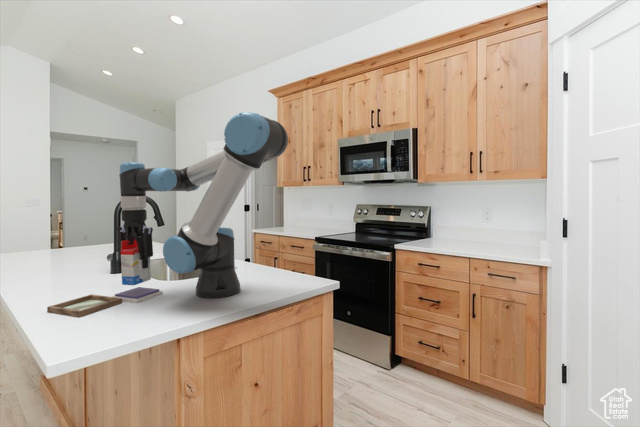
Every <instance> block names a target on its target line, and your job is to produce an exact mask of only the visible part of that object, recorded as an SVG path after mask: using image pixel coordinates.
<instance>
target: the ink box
mask: <svg viewBox="0 0 640 427" xmlns="http://www.w3.org/2000/svg"><path fill="white" fill-rule="evenodd" d="M127 243H129V241H128V240H124V241H121V256H120V260H121V261H120V263H121V264H120V265H121V266H120V267H121V268H120V269H121V285H122V286H137V285H140V284H142V283H145V282H149V281H150V280H151V279H152V274H151V273H152V272H151V257H149V258H148V268H147V273H148V277H146V278H142V279H139V258H141V257H140V253H139V249H138V245H137V241H136V240H135V239H134V244H131V245H127ZM144 255H145V254H144Z"/></svg>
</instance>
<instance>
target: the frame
mask: <svg viewBox="0 0 640 427" xmlns="http://www.w3.org/2000/svg"><path fill="white" fill-rule="evenodd" d="M120 304H121V305H122V304H123V301H122V298H116V297H112V296H107V295H100V294H92V293H91V294H89V295H84V296H81V297H78V298H73V299H70V300H68V301H63V302H60V303H57V304H54V305H49V306H47V307H46V309H47V310H46V311H47V313H53V314H56V315H57V314H58V315H62V316H63V315H64V316H72V317H75V316H76V318H81V317H84V316H88V315H91V314H94V313H97V312H99V311H102V310H106V309H108V308H111V307H114V306H117V305H120Z"/></svg>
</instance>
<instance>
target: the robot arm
mask: <svg viewBox="0 0 640 427" xmlns="http://www.w3.org/2000/svg"><path fill="white" fill-rule="evenodd" d="M223 136H224V143H225V145H224V147H223V150H222V151H220V152H218V153H215V154H214V155H211V156H208V157H207V158H204V159H202V160H200V161H198V162H196V163H193V164H191V165H188V166H187V167H185V168H181V169H178V168H177V169H175V168H168V167H151V168H145V164H144V163H143V162H122V163H121V164H120V165H119V185H120V208H121V209H122V210H121V221H122V222H124V223H123V226H118V227H117V228H116V230H117V234H118V255H119V256H120V257H121V241H124V240H128V241H129V243H127V245H131V244H134V239H135V240H136V241H137V245H138V249H139V253H140V257H141V258H139V279H142V278H146V277H148V273H147V268H148V258H149V257H150V258H151V257H153V256H154V249H153V231H154V230H153V229H154V228H153V227H152V226H151V227H148V226H147V225H146V221H147V213H148V212H147V209H145V208H147V193H146V192H161V193H162V192H192V191H193V192H194V191H196V190H198V189H199V188H200V187H201V185H204V184H207V183H209V182H210V184H209V186H208V188H207V190H206V191H205V194H204V195H203V197H202V199H201V201H200V202H199V205H198V207H197V208H196V209H195V212H194V214H193V216H192V218H191V220H190V221H186V222H184V223H183V224H182V225H181V227H180V230H179V231H178V233H177V234H176V235H171V236H169V237H168V238H167V239H166V240H165V241H164V243H163V247H162V255H163V259H164V262H165V264H166V265H167V267H168V268H169V269H170V270H171V271H173V272H175V273H176V274H187V273H191V272H194V271H196V270H200V272H199V274H198V279H197V282H196V283H197V284H196V285H195V295H196V296H198V297H200V298H206V299H216V298H217V299H218V298H226V297H230V296H234V295H236V294H238V293H240V292H241V283H240V280H239V278H238V274H237V273H236V269H235V268H236V267H235V265H236V264H235V237H234V231H233V229H232V228H231V227H221V226H222V224H223V222H224V221H225V219H226V217H227V216H228V214H229V212H230V210H231V208H232V207H233V205H234V203H235V201H236V200H237V198H238V196H239V194H240V193H241V191H242V189H243V188H244V186H245V184H246V182H247V180H248V178H249V177H250V175H251V174H252V172H253V171H257V170H259V169H260V168H261V167H262V165H263V164H264V163H265V162H269V161H272V160H274V159H277V158H279V157H280V156H281V155H283V153H284V152H286V150H287V147H288V144H289V136H288V131H287V130H286V128H285V127H284V126H283V125H282V124H281V123H280V122H278V121H276V120H273V119H270V118H268V117H267V116H266V117H265V116H263V115H260V114H259V113H256V112H246V111H244V112H241V113H236V114H235V115H233V116H232V117H231V118H230V119H229V121H228V122H227V123H226V125H225V128H224V132H223ZM144 254H145V255H144Z"/></svg>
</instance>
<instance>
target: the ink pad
mask: <svg viewBox="0 0 640 427" xmlns="http://www.w3.org/2000/svg"><path fill="white" fill-rule="evenodd" d="M163 292H164V291H163V290H160V289H159V288H151V287H140V286H138V287H134V288H131V289H128V290H124V291H121V292H118V293H115V294H114V295H113V296H111V297H116V298H122V302H128V303H134V304H137V303H141V302H143V301H146V300H149V299H152V298H155V297H158V296H160V295H163Z"/></svg>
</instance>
